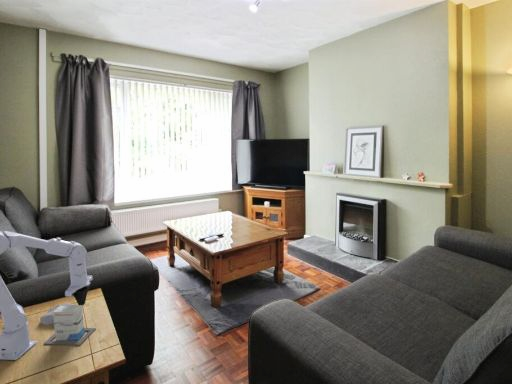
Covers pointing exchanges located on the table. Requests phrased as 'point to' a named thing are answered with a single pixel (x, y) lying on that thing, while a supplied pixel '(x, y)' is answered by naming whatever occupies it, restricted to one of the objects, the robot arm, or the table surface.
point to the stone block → (48, 316)
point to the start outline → (50, 342)
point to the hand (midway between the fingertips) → (81, 304)
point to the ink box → (68, 322)
